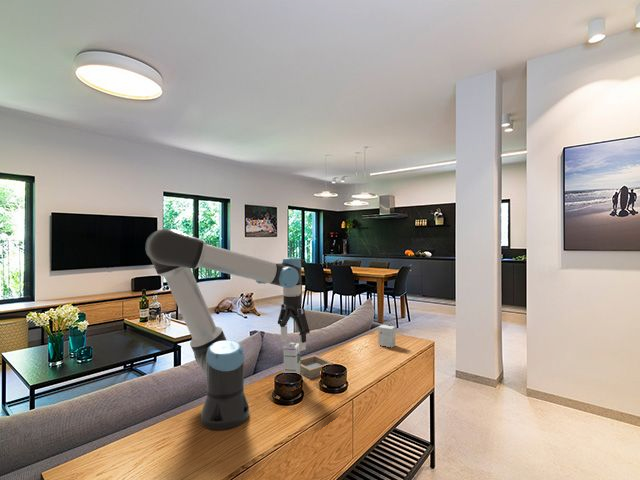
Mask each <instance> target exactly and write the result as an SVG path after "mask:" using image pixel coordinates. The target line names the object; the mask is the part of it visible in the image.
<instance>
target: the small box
mask: <svg viewBox="0 0 640 480" xmlns="http://www.w3.org/2000/svg"><path fill="white" fill-rule="evenodd" d="M377 328H378V329H377V330H378V332H377V335H378V337H377V339H378V344H377V345H381V346H380V347H382V346H386V347H385V348H387V347H393V348H394V347H395V346H396V326H393V325H387V324H386V325H385V324H381V325H379V326H378V327H377Z"/></svg>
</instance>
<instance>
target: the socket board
mask: <svg viewBox="0 0 640 480" xmlns="http://www.w3.org/2000/svg"><path fill="white" fill-rule="evenodd" d="M300 359H301V375H302V376H303V377H305V378H307V377H308V378H307V379H314V378H316V377H319V376H321V375H320V371H321V368H322V367H324V366H326V365H333V366H334V362H332V361H329V360H327V359H325V358H323V357H321V356H319V355H316V354H313V355H310V356H307V357H306V356H305V357H302V358H300Z"/></svg>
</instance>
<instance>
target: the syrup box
mask: <svg viewBox="0 0 640 480" xmlns="http://www.w3.org/2000/svg"><path fill="white" fill-rule="evenodd" d="M301 359H302V358H301V351H299V342H287V343H286V344H285V345H284V346H283V374H284V373H297V374H300V375H302V374H301Z"/></svg>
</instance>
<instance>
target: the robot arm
mask: <svg viewBox="0 0 640 480" xmlns="http://www.w3.org/2000/svg"><path fill="white" fill-rule="evenodd" d="M144 248H145V249H144V250H145V253H146V255H147V257H148V258H149V259H150V261H151V263H152V265H153V266H154V267H153V268H154V270H155V272H156V273H157V275H158V276H160V277H163V278H164V279H165V281H166V283H167V285H168V288H169V289H170V293H171V294H172V296H173V298H174V301H175V303H176V305H177V307H178V311H179V312H180V314H181V316H182V319H183V321H184V323H185V325H186V328H187V329H188V331H189V334H190V335H191V340H190V345H189V346H190V347H191V350H192V351H193V355H194V359H195V361H196V364H197V365H199V366H200V367H201V369H202V371H203V372H204V374H205V375H206V397H205V400H204V404H203V405H202V406H203V407H202V410H201V413H200V422H201V423H200V424H201V425H202V426H203V427H205V428H206V429H209V430H212V431H224V430H229V429H233V428H236V427H238V426H240V425H242V424H243V423H245V422H246V421H247V420H248V419H249V416H250V406H249V403H248V400H247V397H246V395H245V391H244V387H245V385H244V384H245V383H244V382H245V381H244V379H245V378H244V376H245V375H244V373H245V369H244V368H245V365H244V364H245V354H244V348H243V346H242V345H241V343H239V342H238V341H232V340H228V339H227V338H226V336H225V333H224V331H223V329H222V327H220V326H216V323H215V321H214V318H213V317H212V314H211V312H210V309H209V308H208V305H207V303H206V301H205V298H204V296H203V293H202V291H201V289H200V286H199V285H198V282H197V280H196V278H195V276H194V272H193V271H192V270H196V269H197V268H203V269H207V270H210V271H214V272H219V273H224V274H228V275H232V276H236V277H241V278H245V279H250V280H254V281H255V282H256V283H257V284H259V285H260V284H270V285H275V286H278V287H282V292H283V293H282V294H283V297H282V298H283V299H282V301H283V303H282V304H281V305H280V312H279V316H278V320H277V324H278V325H279V327H280V343H286V342H288V322H289V320H290V318H291V319H293V321H294V322H295V325H296V327H297V329H298V331H299V333H298V343H299V351H300V352H302V351H306V350H307V346H306V345H307V334H309V333H310V332H311V331H310V328H309V324H308V323H309V322H308V321H307V317H306V312H305V308H300V305H301V304H302V301H303V300H302V295H301V294H302V260H301V258H299V257H284V258H283V259H282V261H281V262H279V263H275V262H272V261H269V260H265V259H261V258H257V257H254V256H251V255H248V254H244V253H240V252H237V251H233V250H230V249H226V248H222V247H218V246H214V245H211V244H208V243H206V241H205V240H204V239H202V238H198V237H195V236H192V235H190V234H187V233H185V232H182V231H181V230H178V229H174V228H163V229H158V230H156V231H154V232H152V233H151V234H150V235H149V236H148V237H147V239H146V241H145V247H144Z"/></svg>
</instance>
